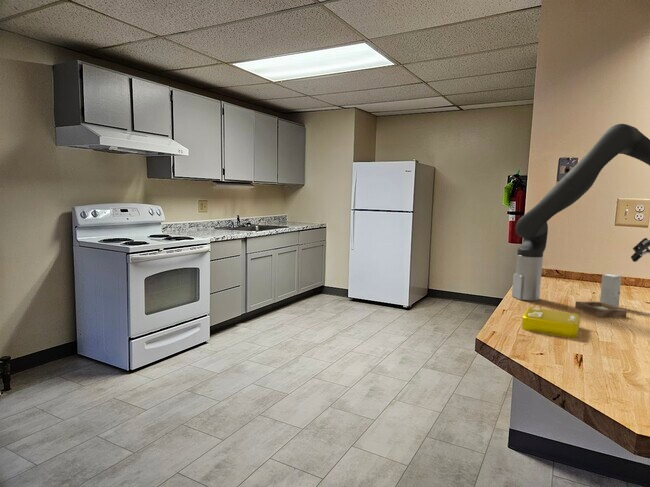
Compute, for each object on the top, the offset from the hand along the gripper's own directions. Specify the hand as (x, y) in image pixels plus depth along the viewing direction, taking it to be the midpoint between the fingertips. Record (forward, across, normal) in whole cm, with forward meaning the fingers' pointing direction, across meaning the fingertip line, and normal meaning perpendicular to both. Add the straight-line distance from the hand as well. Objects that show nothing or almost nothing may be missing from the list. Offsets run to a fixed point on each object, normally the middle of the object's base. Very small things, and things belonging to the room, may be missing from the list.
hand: (644, 259), depth 148 cm
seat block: (+16, +12, +12) cm, 23 cm away
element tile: (+5, +42, +23) cm, 48 cm away
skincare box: (+22, +2, +6) cm, 23 cm away
